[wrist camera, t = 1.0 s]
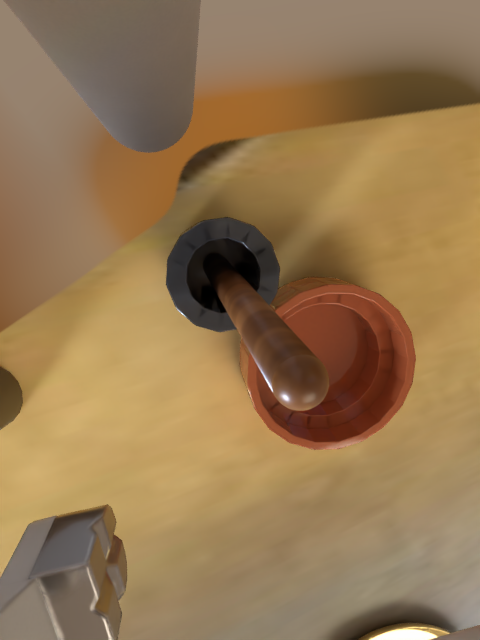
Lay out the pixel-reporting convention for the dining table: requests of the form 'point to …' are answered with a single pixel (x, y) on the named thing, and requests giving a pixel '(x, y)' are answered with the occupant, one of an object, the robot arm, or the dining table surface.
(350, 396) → the bowl
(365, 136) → the dining table surface
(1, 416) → the pepper mill
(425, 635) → the serving platter
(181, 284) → the utensil pot
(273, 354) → the stirring stick
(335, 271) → the dining table surface
